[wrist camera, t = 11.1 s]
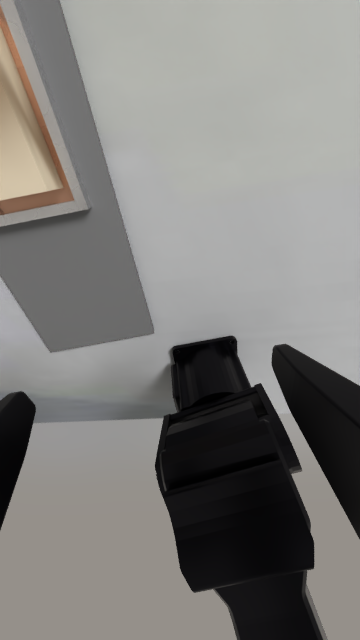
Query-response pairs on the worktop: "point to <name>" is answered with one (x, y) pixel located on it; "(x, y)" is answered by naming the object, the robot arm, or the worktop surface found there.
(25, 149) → the block
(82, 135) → the mat
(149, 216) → the worktop surface
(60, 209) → the frame
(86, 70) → the worktop surface
